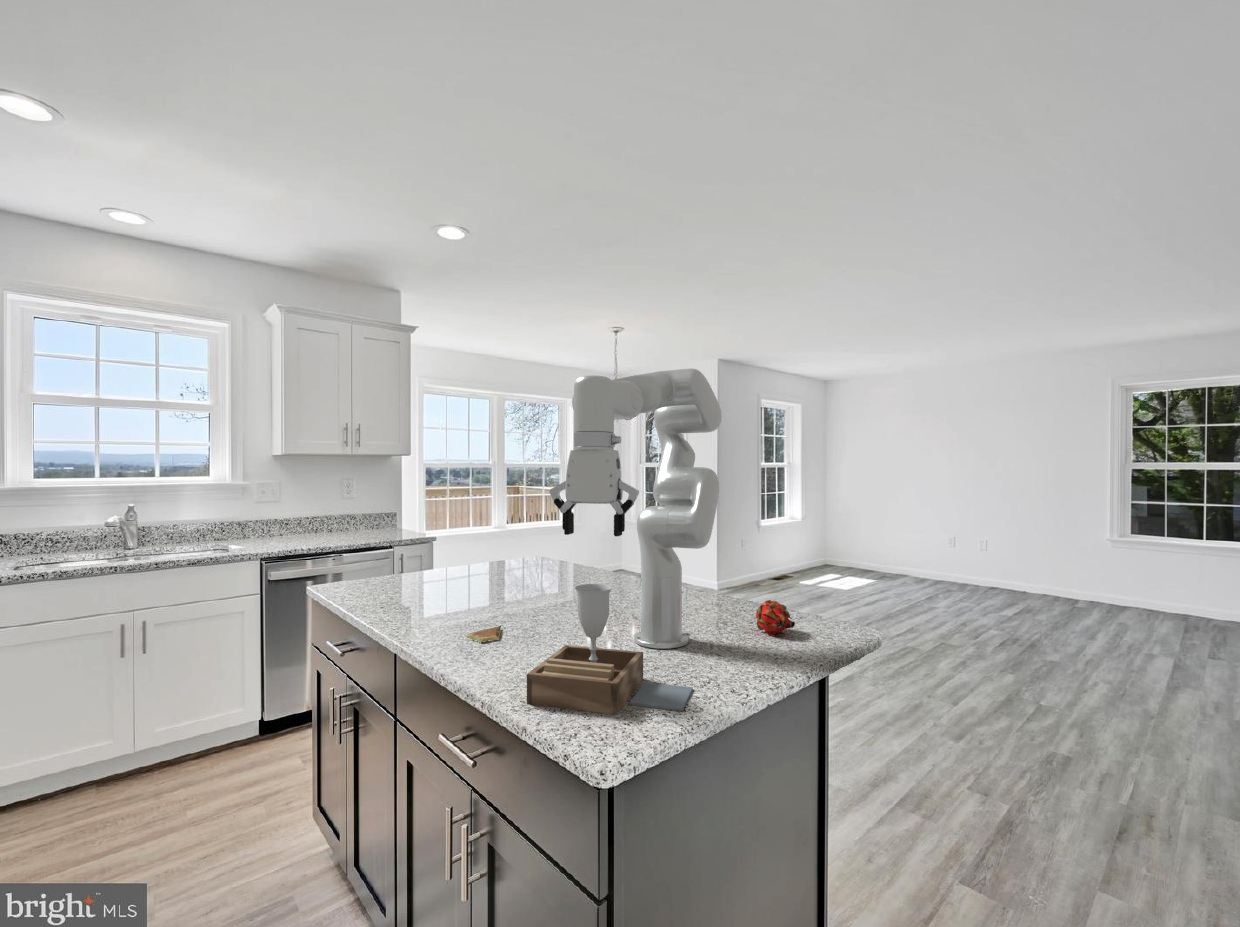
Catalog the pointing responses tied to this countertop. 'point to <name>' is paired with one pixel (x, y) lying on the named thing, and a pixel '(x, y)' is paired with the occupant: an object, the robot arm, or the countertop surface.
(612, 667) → the offcut stack
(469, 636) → the shard
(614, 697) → the frame
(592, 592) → the chalice
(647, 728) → the countertop surface
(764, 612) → the dragon fruit
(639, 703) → the mat
